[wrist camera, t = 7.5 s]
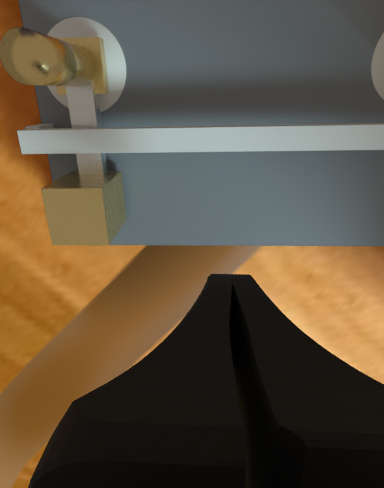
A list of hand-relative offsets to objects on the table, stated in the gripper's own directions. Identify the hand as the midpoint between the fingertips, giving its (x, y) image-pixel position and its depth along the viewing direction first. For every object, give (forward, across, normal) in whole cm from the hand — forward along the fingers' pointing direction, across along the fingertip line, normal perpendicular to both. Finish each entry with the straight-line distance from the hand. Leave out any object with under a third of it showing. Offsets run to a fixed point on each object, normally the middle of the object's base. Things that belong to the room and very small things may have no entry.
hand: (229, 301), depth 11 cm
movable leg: (+8, +7, -4) cm, 11 cm away
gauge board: (+9, -1, -5) cm, 11 cm away
